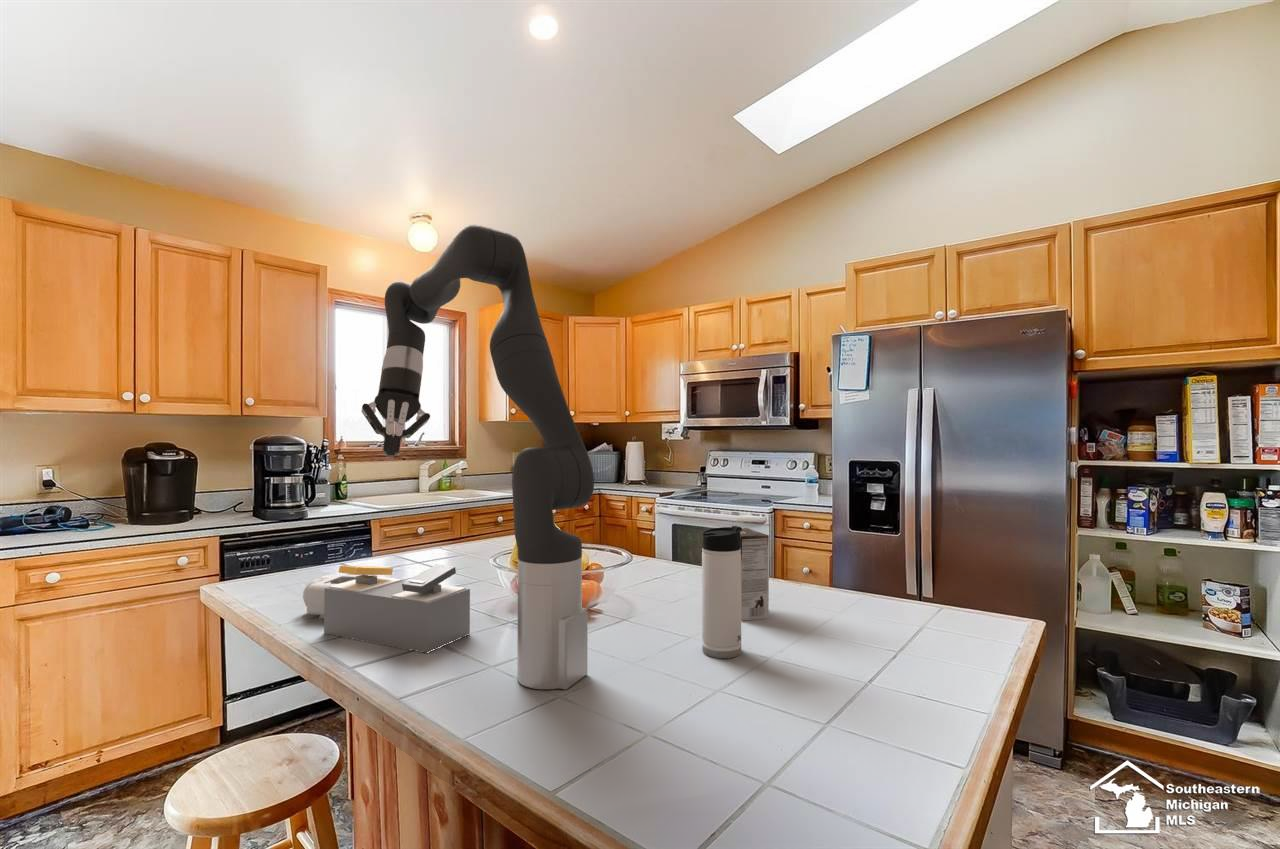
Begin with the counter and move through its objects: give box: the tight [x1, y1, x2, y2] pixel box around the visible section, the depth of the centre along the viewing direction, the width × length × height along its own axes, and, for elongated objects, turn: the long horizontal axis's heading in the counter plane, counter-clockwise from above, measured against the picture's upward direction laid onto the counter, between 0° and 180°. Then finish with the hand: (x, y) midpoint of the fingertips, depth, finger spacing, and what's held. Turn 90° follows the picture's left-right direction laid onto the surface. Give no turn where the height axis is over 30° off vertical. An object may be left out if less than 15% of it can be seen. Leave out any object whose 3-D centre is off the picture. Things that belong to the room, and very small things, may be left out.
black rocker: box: [402, 564, 457, 593], centre depth 101 cm, size 4×8×1 cm, turn 156°
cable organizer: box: [302, 573, 359, 619], centre depth 118 cm, size 7×12×12 cm
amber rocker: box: [338, 564, 394, 576], centre depth 107 cm, size 4×8×1 cm, turn 156°
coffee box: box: [740, 527, 770, 622], centre depth 116 cm, size 9×6×16 cm
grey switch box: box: [323, 575, 471, 652], centre depth 104 cm, size 24×10×9 cm, turn 66°
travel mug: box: [701, 525, 742, 659], centre depth 96 cm, size 6×7×20 cm
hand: (390, 456), depth 112 cm, fingers closed
